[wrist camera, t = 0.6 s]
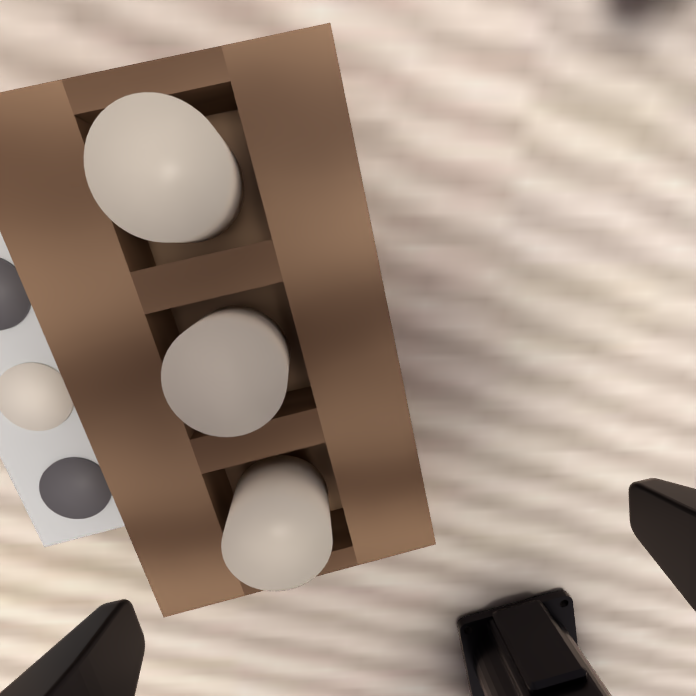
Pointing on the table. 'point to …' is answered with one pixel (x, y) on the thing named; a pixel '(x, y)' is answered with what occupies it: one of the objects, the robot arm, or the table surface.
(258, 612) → the table surface
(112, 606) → the robot arm
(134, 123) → the button
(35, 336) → the card
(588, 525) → the table surface
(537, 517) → the table surface
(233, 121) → the button board
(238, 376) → the button middle
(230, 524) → the button
